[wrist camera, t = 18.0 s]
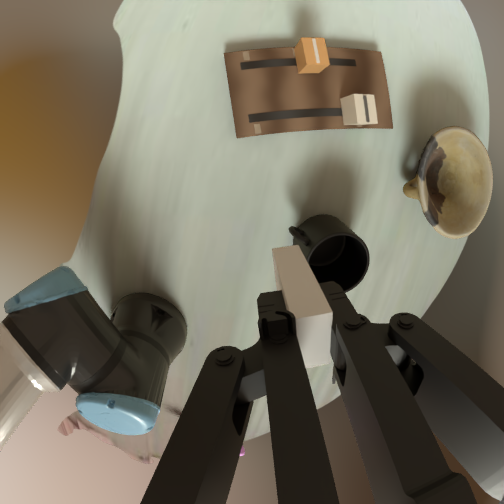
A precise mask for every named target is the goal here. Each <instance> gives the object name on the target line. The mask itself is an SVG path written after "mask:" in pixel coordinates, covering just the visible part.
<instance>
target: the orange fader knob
mask: <svg viewBox="0 0 504 504" xmlns="http://www.w3.org/2000/svg"><path fill="white" fill-rule="evenodd" d="M294 52H295V57H296V63H297V68H298V74H301V73H320V72H321V71H322V70H324V69H325V68H326V67H328V66H329V65H330V63H329V58H328V53H327V48H326V43H325V39H324V38H301V39H300V40H299V42H298V44H297V45H296V47H295V48H294Z"/></svg>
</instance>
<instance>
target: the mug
mask: <svg viewBox="0 0 504 504" xmlns="http://www.w3.org/2000/svg"><path fill="white" fill-rule="evenodd" d="M289 232H290V233H291V234H292V235H293V236H294V242H293V246H294V245H299V247H300V249H301V251H302V253H303V255H304V257H305V259H306V260H307V262H308V264H309V266H310V268H311V270H312V272H313V274H314V276H315V278H316V280H317V282H318V283H324V282H330V281H334V282H335V283H337V284H338V285H340V286H341V288H342V289H343V291H344V293H346V292H348V291H350V290H352V289H353V288H355V287H356V286H357V285H358V284H359V283H360V282H361V281H362V279H363V278H364V276H365V274H366V272H367V270H368V267H369V251H368V248H367V246H366V244H365V243H364V241H363V240H362V239H361V238H360V237H358V236H357V235H356V234H355V233H354V232H353V231H352V230H351V229H349V228H348V227H347V226H346V225H345V224H344V223H343V222H341V221H340V220H339V219H338V218H336V217H334V216H331V215H317V216H313V217H311V218H309V219H308V220H306V221H305V222H304V223H303V224H302V225H301V226H300V227H299V228H296V227H293V226H291V227H290V228H289Z"/></svg>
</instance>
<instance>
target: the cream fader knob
mask: <svg viewBox="0 0 504 504" xmlns="http://www.w3.org/2000/svg"><path fill="white" fill-rule="evenodd" d="M340 101H341V108H342V115H343V123H344V125H366V124H378V121H377V113H376V105H375V98H374V95H370V94H352V95H349V96H346V97H343V98H341V99H340Z"/></svg>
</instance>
